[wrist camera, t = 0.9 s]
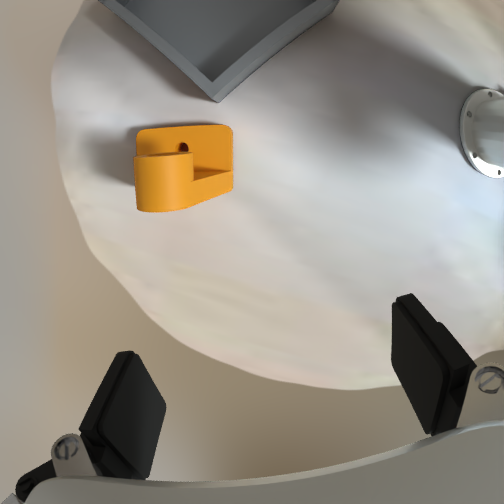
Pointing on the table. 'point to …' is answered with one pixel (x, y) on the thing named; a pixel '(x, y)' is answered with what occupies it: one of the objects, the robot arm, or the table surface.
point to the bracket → (182, 166)
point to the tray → (220, 34)
